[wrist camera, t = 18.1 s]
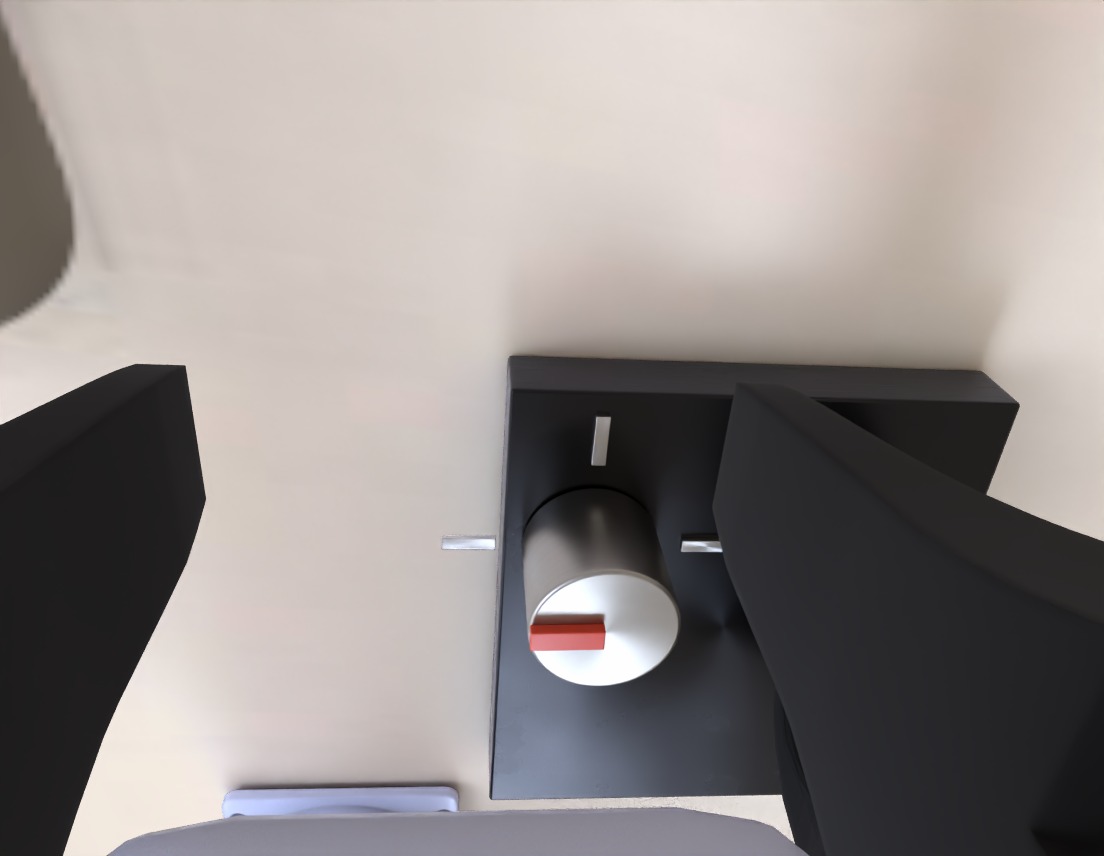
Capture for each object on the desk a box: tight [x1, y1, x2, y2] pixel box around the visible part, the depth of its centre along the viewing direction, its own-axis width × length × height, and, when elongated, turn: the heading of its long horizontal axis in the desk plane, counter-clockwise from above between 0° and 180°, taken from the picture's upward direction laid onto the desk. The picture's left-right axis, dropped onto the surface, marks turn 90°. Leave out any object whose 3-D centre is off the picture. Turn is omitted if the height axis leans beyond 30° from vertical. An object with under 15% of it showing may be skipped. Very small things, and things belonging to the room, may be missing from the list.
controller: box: [774, 685, 826, 856], centre depth 21 cm, size 4×12×10 cm, turn 173°
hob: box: [442, 356, 1020, 800], centre depth 26 cm, size 15×15×2 cm
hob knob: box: [522, 488, 681, 686], centre depth 21 cm, size 4×4×4 cm
